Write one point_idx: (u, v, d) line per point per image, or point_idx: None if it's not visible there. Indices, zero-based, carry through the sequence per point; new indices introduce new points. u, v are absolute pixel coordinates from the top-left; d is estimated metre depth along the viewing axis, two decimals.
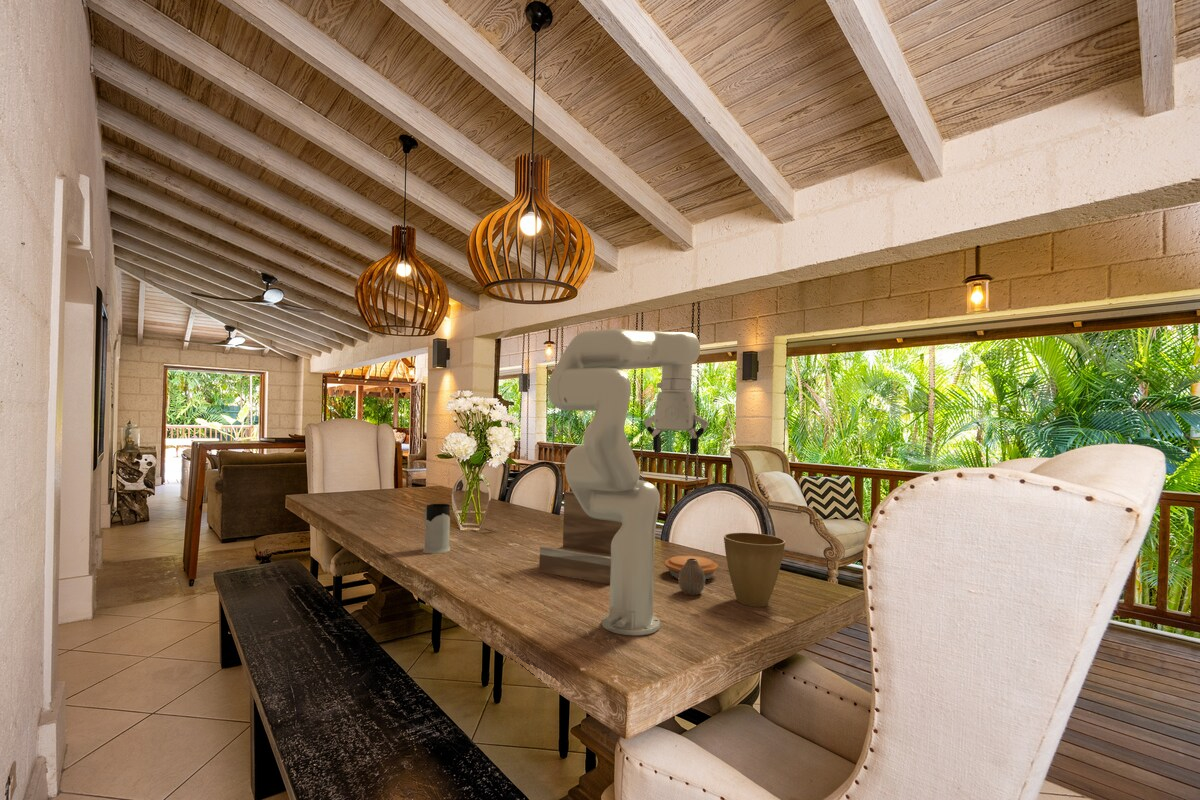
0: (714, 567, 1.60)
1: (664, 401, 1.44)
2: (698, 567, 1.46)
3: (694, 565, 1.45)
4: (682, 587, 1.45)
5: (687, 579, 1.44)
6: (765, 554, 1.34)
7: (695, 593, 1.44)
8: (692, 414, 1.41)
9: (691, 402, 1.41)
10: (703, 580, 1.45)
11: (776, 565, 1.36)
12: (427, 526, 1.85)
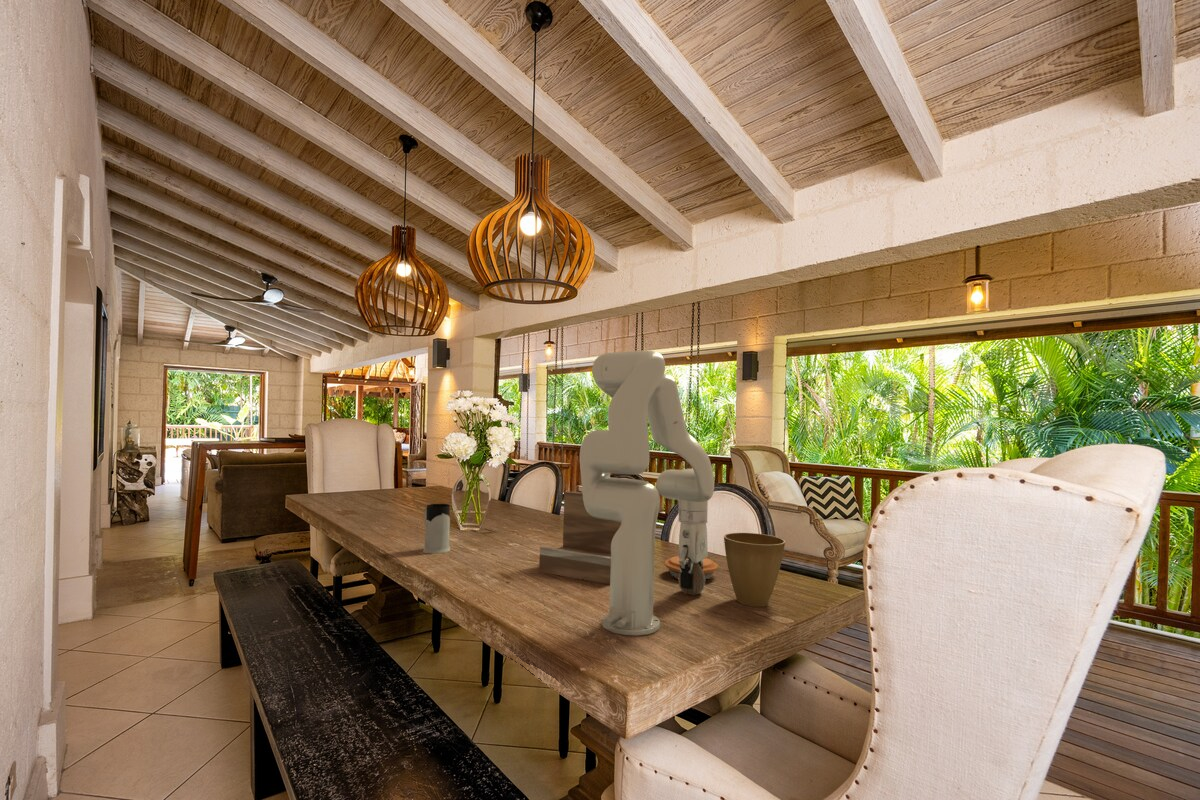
0: (714, 567, 1.60)
1: (699, 533, 1.44)
2: (698, 567, 1.46)
3: (694, 565, 1.45)
4: None
5: None
6: (765, 554, 1.34)
7: (695, 593, 1.44)
8: None
9: None
10: (703, 580, 1.45)
11: (776, 565, 1.36)
12: (427, 526, 1.85)
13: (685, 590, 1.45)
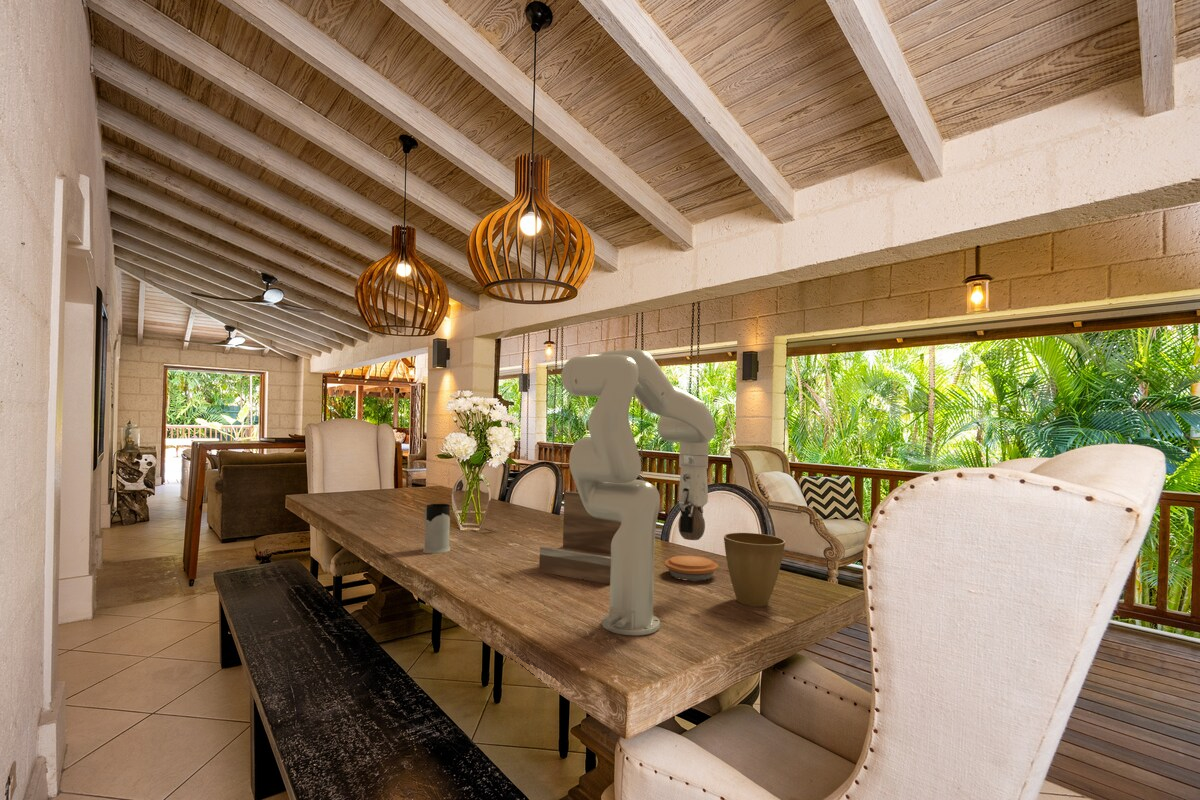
0: (714, 567, 1.60)
1: (700, 477, 1.45)
2: (698, 512, 1.46)
3: (694, 510, 1.45)
4: (682, 532, 1.45)
5: None
6: (765, 554, 1.34)
7: (695, 538, 1.44)
8: None
9: None
10: (703, 525, 1.45)
11: (776, 565, 1.36)
12: (427, 526, 1.85)
13: (685, 535, 1.45)
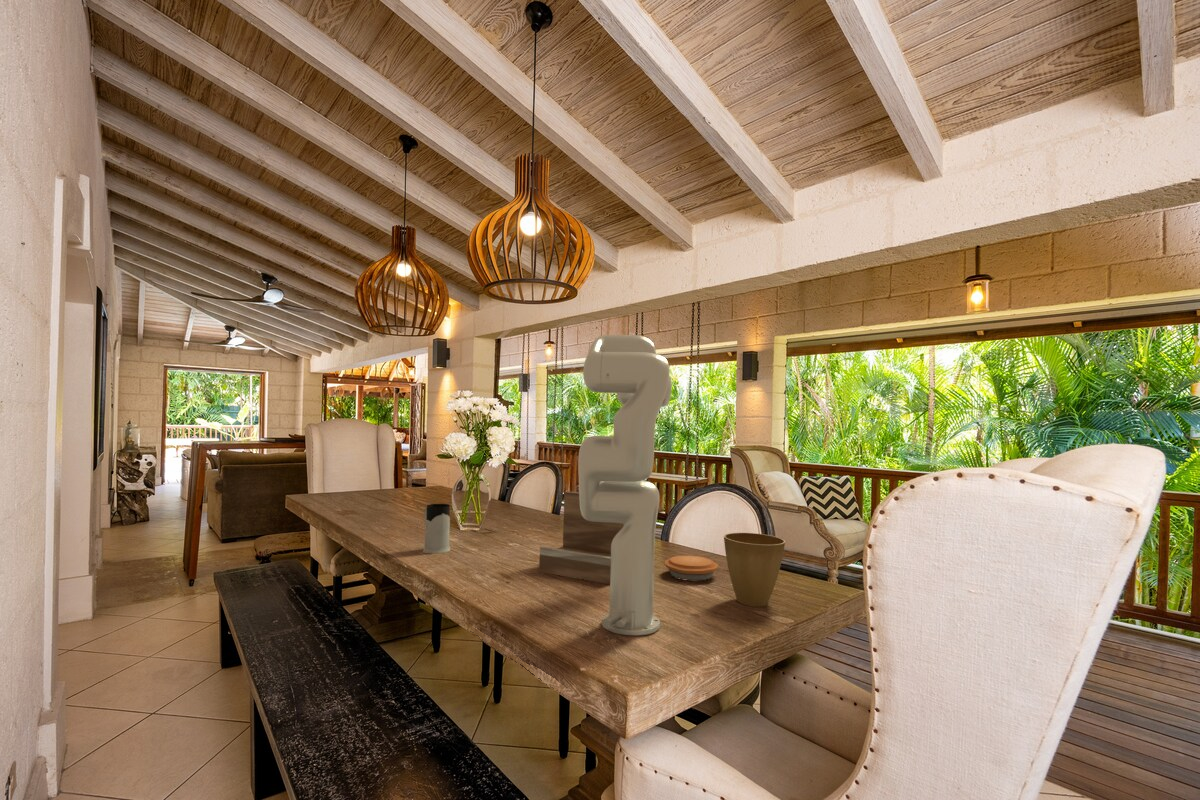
0: (714, 567, 1.60)
1: None
2: None
3: None
4: None
5: None
6: (765, 554, 1.34)
7: None
8: None
9: None
10: None
11: (776, 565, 1.36)
12: (427, 526, 1.85)
13: None
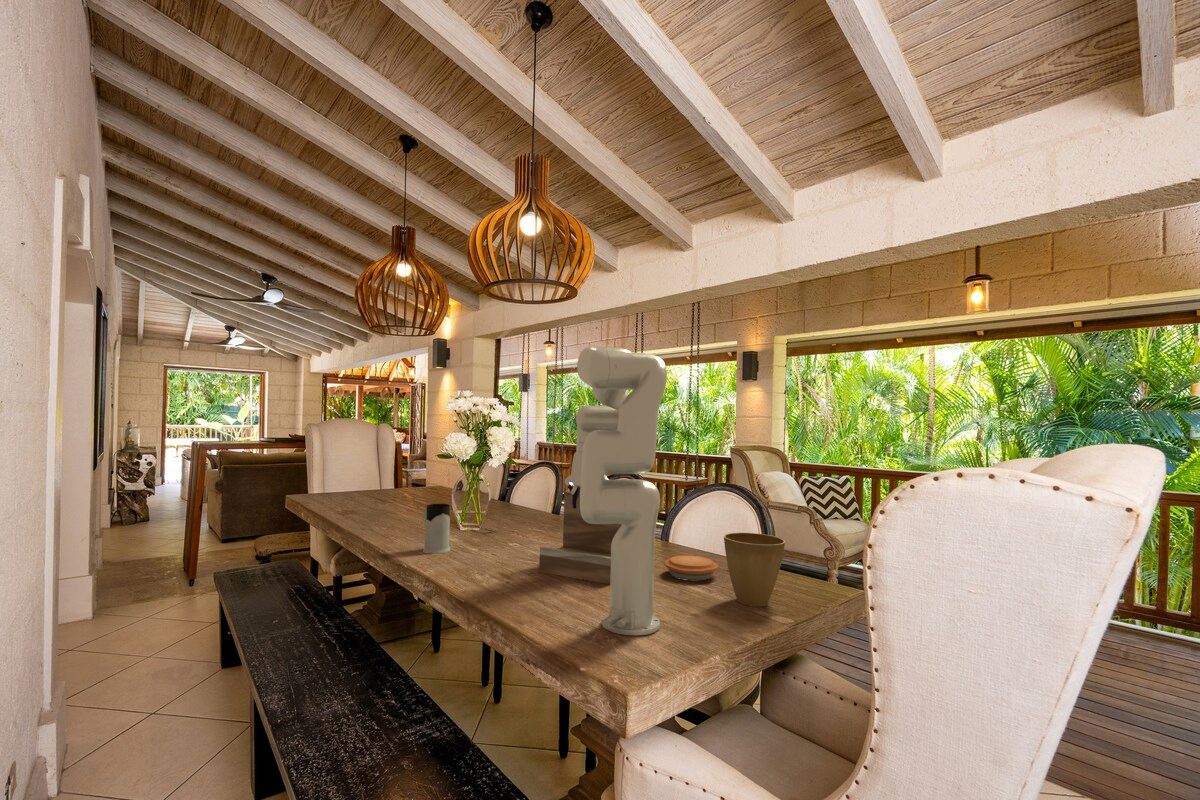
0: (714, 567, 1.60)
1: None
2: None
3: None
4: None
5: None
6: (765, 554, 1.34)
7: None
8: None
9: None
10: None
11: (776, 565, 1.36)
12: (427, 526, 1.85)
13: None
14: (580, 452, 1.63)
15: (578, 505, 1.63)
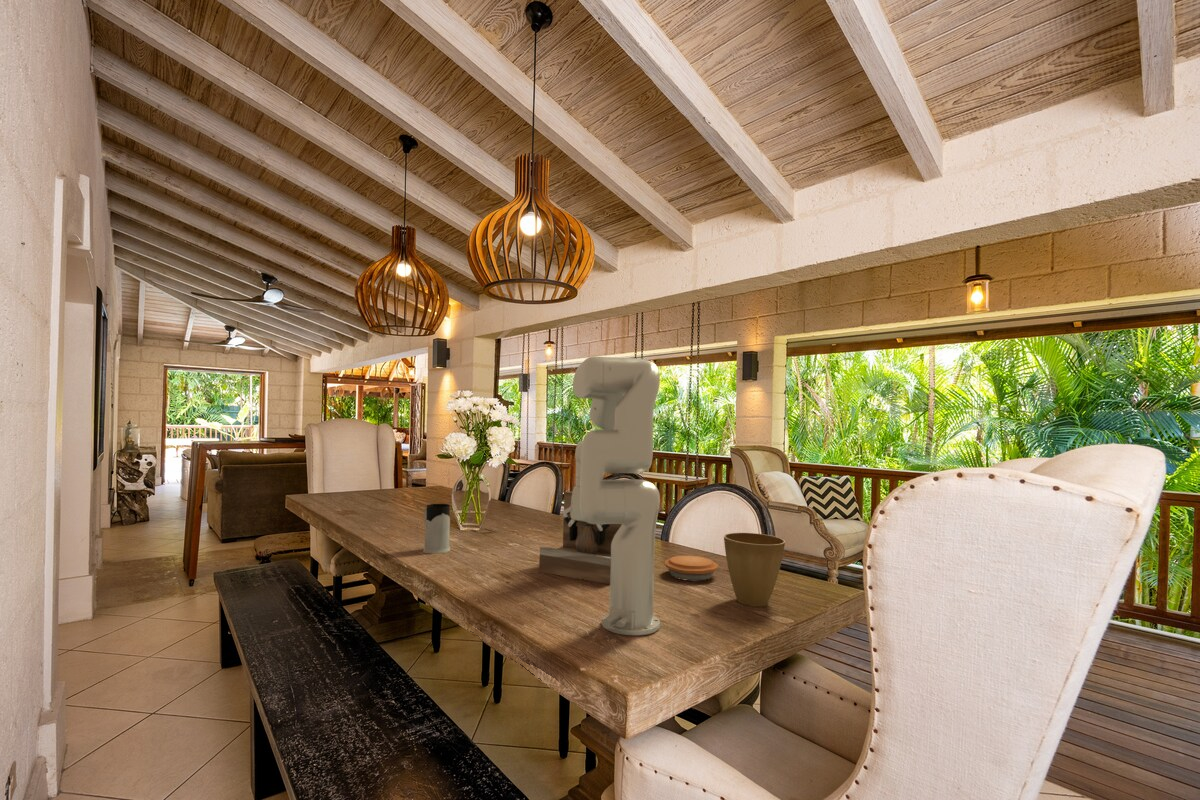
0: (714, 567, 1.60)
1: None
2: None
3: (593, 529, 1.65)
4: (593, 551, 1.62)
5: None
6: (765, 554, 1.34)
7: None
8: None
9: None
10: None
11: (776, 565, 1.36)
12: (427, 526, 1.85)
13: (594, 552, 1.62)
14: (579, 487, 1.62)
15: (578, 545, 1.62)
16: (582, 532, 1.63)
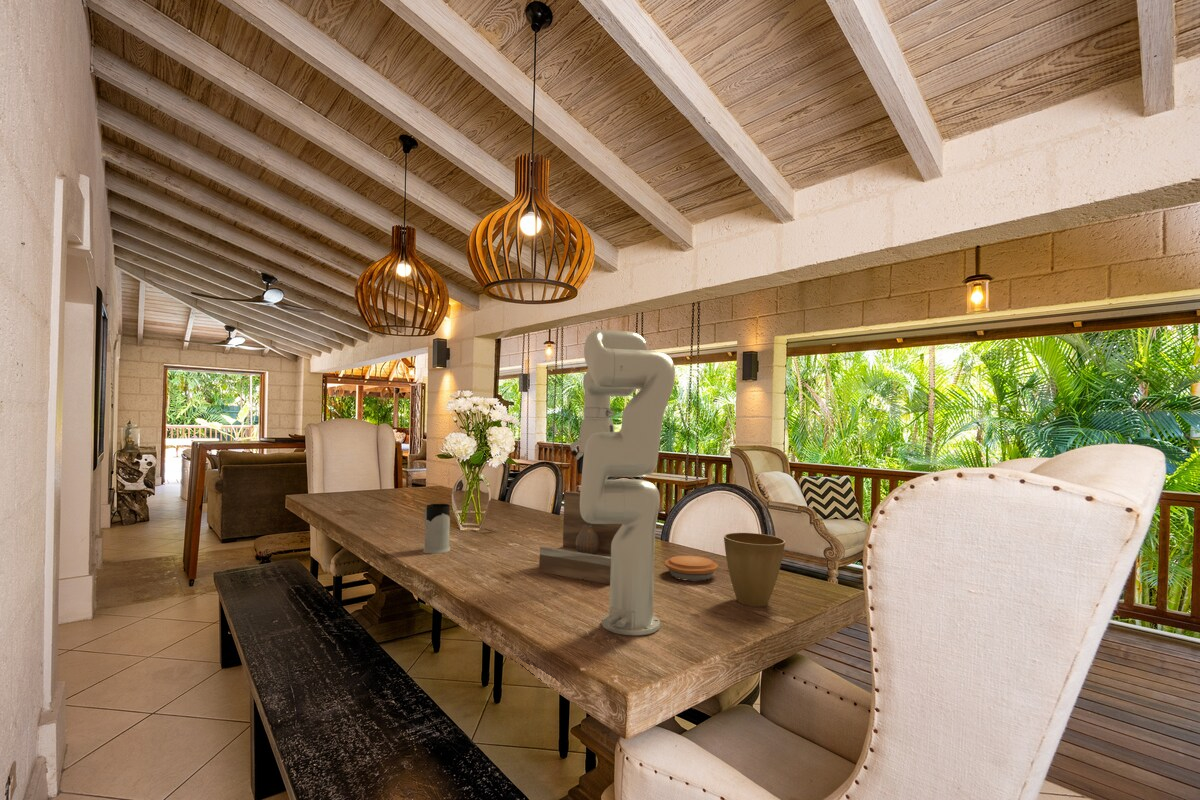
0: (714, 567, 1.60)
1: None
2: None
3: (593, 529, 1.65)
4: (593, 551, 1.62)
5: (597, 542, 1.63)
6: (765, 554, 1.34)
7: None
8: None
9: None
10: None
11: (776, 565, 1.36)
12: (427, 526, 1.85)
13: (594, 552, 1.62)
14: (588, 418, 1.60)
15: (578, 545, 1.62)
16: (582, 532, 1.63)
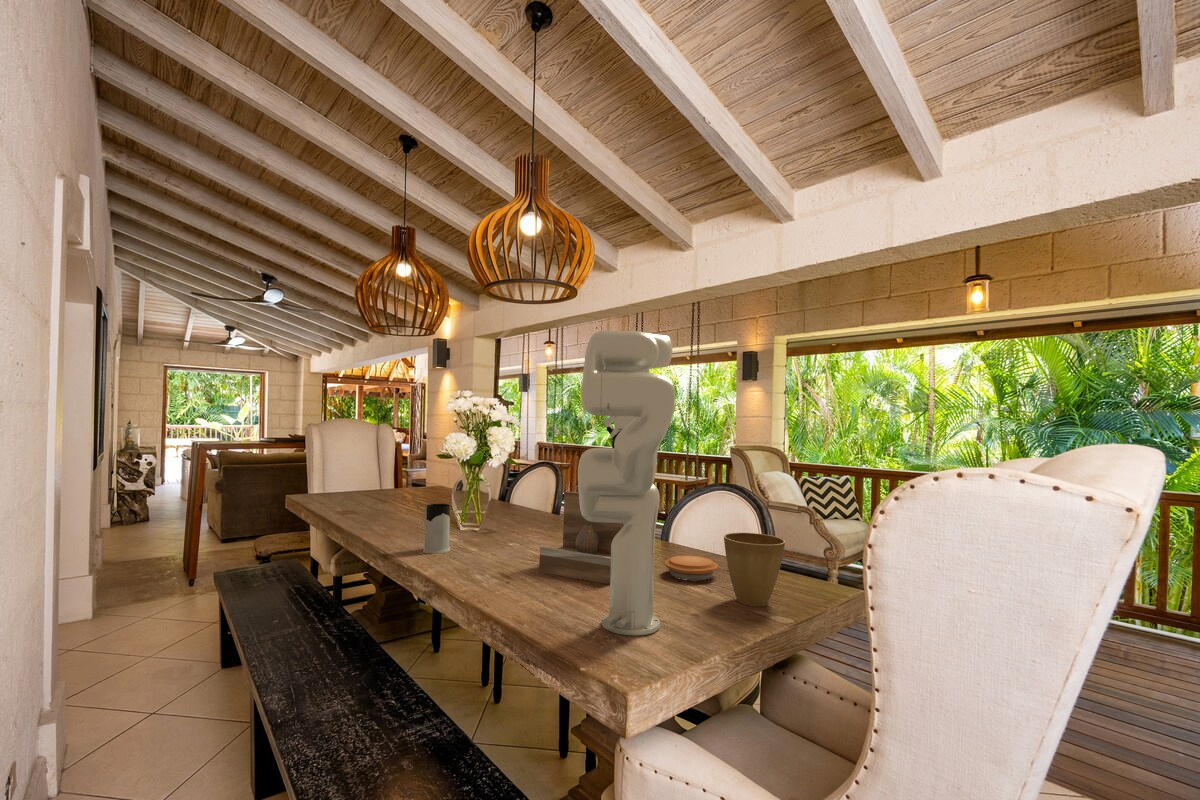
0: (714, 567, 1.60)
1: None
2: None
3: (593, 529, 1.65)
4: (593, 551, 1.62)
5: (597, 542, 1.63)
6: (765, 554, 1.34)
7: None
8: None
9: None
10: None
11: (776, 565, 1.36)
12: (427, 526, 1.85)
13: (594, 552, 1.62)
14: None
15: (578, 545, 1.62)
16: (582, 532, 1.63)
